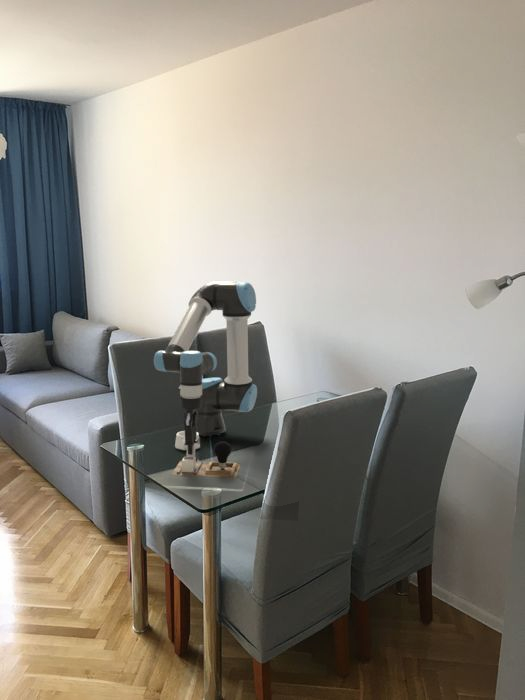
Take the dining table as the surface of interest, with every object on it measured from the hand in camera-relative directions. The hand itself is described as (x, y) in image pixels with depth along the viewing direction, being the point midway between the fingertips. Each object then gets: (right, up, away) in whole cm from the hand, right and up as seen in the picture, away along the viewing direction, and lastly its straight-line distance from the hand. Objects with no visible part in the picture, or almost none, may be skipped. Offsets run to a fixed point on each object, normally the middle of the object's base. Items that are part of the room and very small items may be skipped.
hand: (190, 462), depth 208 cm
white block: (0, -2, -3) cm, 4 cm away
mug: (-4, 0, +23) cm, 24 cm away
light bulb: (+11, -2, -2) cm, 12 cm away
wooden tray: (+6, -3, -1) cm, 7 cm away
